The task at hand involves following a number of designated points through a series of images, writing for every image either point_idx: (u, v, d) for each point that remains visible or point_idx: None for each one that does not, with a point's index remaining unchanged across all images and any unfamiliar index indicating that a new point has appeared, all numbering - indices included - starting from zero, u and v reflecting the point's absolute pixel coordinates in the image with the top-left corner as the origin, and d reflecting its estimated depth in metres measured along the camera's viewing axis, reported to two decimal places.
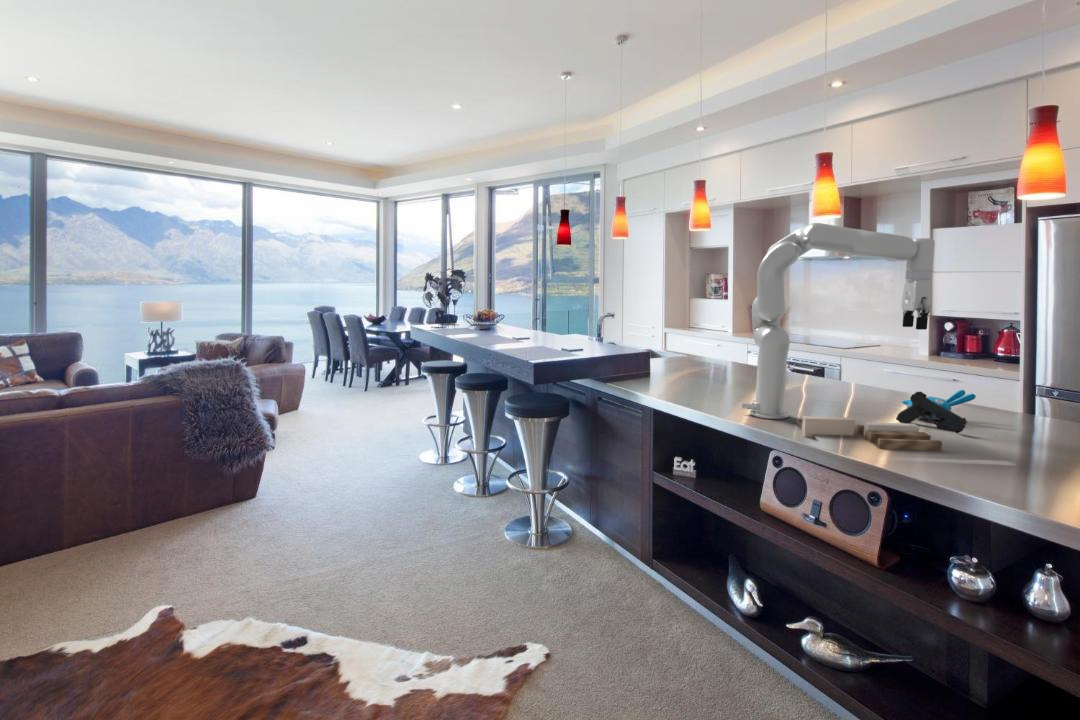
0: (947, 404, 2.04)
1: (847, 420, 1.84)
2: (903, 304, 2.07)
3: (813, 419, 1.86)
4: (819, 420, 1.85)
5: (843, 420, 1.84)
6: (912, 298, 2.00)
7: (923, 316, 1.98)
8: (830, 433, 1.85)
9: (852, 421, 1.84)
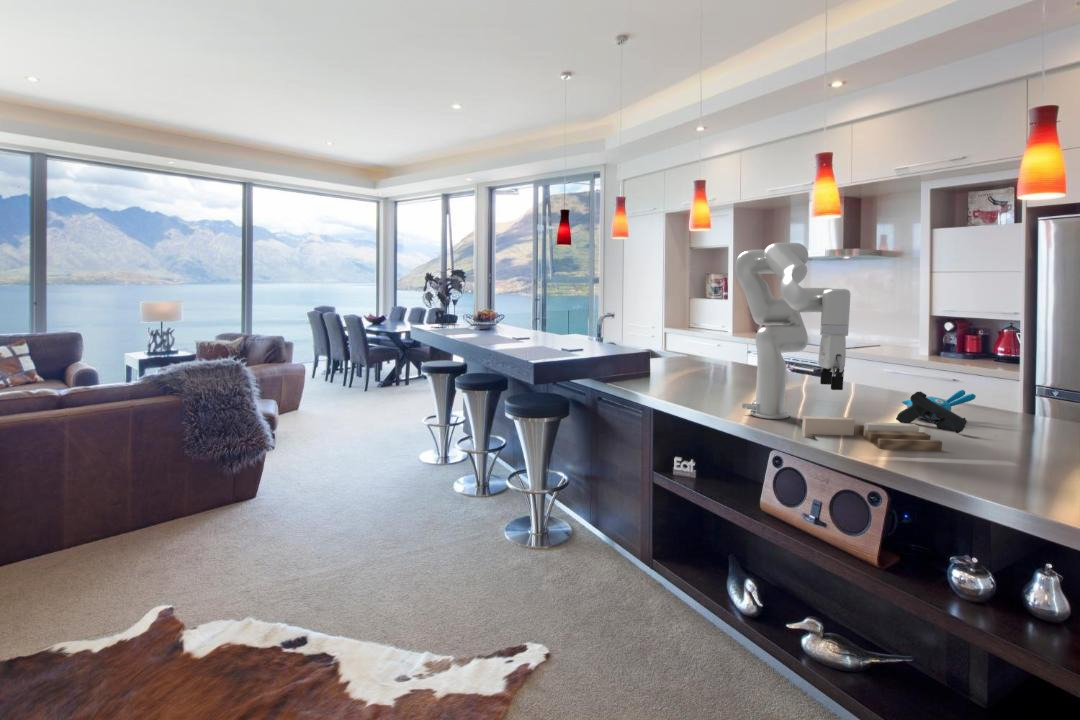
0: (947, 404, 2.04)
1: (847, 420, 1.84)
2: (819, 360, 1.87)
3: (813, 419, 1.86)
4: (819, 420, 1.85)
5: (843, 420, 1.84)
6: (826, 355, 1.81)
7: (838, 376, 1.78)
8: (830, 433, 1.85)
9: (852, 421, 1.84)
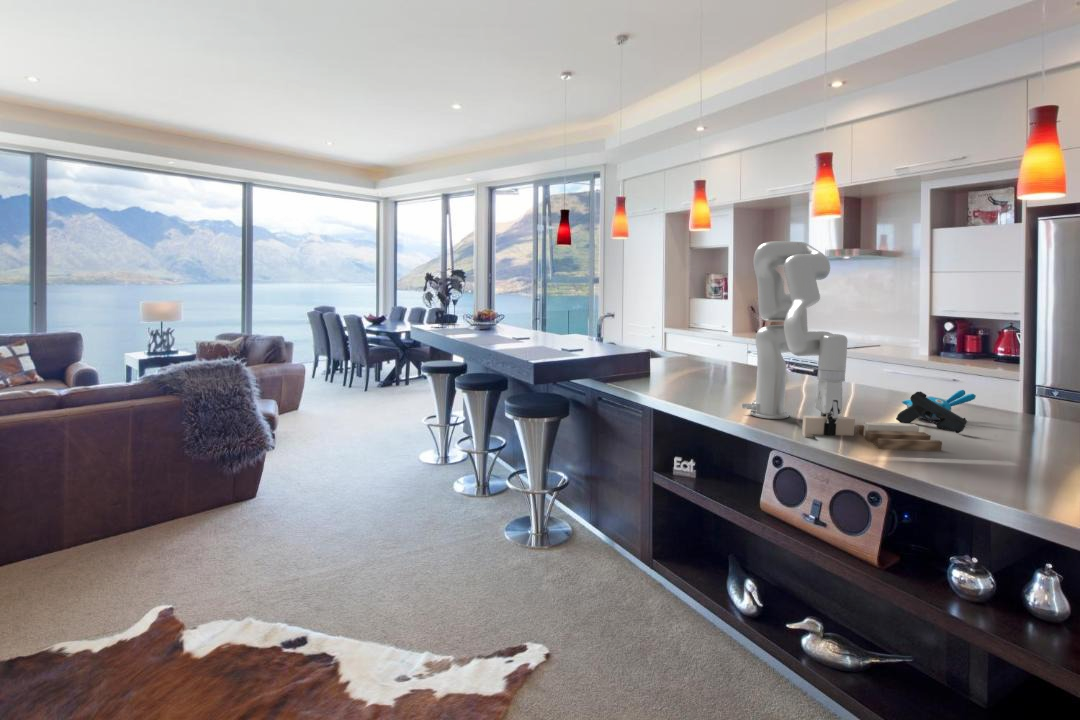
0: (947, 404, 2.04)
1: (847, 419, 1.84)
2: (816, 403, 1.89)
3: (813, 418, 1.85)
4: (819, 419, 1.85)
5: (843, 419, 1.84)
6: (823, 400, 1.83)
7: (830, 424, 1.84)
8: None
9: (852, 420, 1.84)
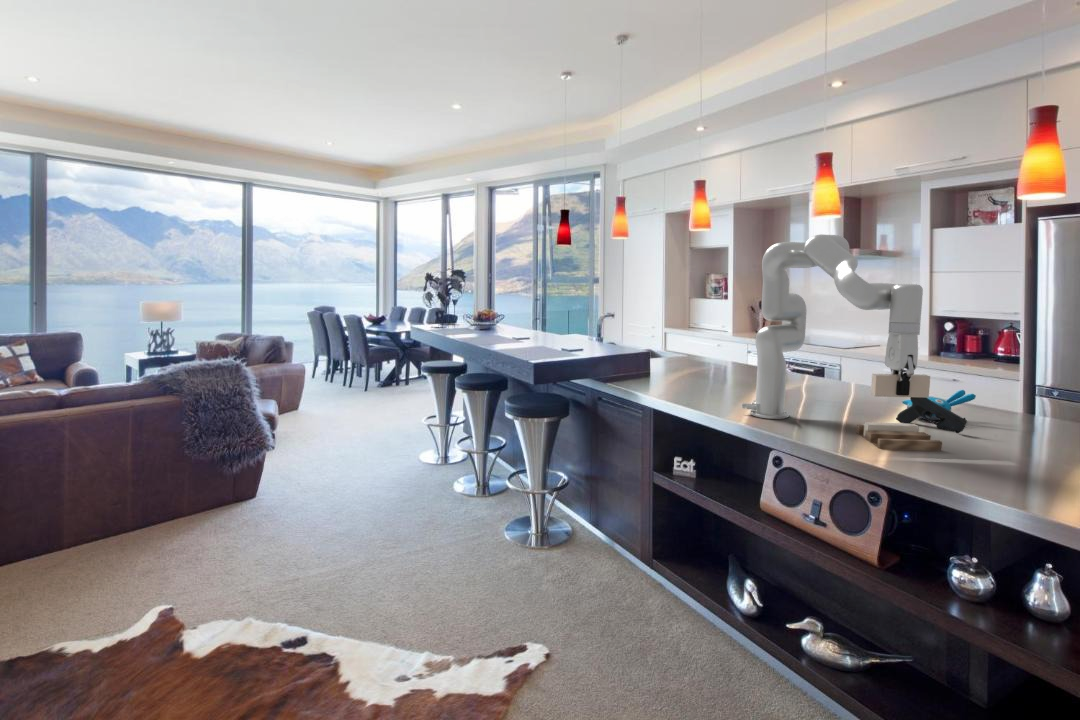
0: (947, 404, 2.04)
1: (922, 377, 1.70)
2: (887, 360, 1.75)
3: (884, 376, 1.71)
4: (891, 377, 1.71)
5: (918, 377, 1.70)
6: (896, 355, 1.68)
7: (904, 381, 1.69)
8: None
9: (928, 378, 1.70)
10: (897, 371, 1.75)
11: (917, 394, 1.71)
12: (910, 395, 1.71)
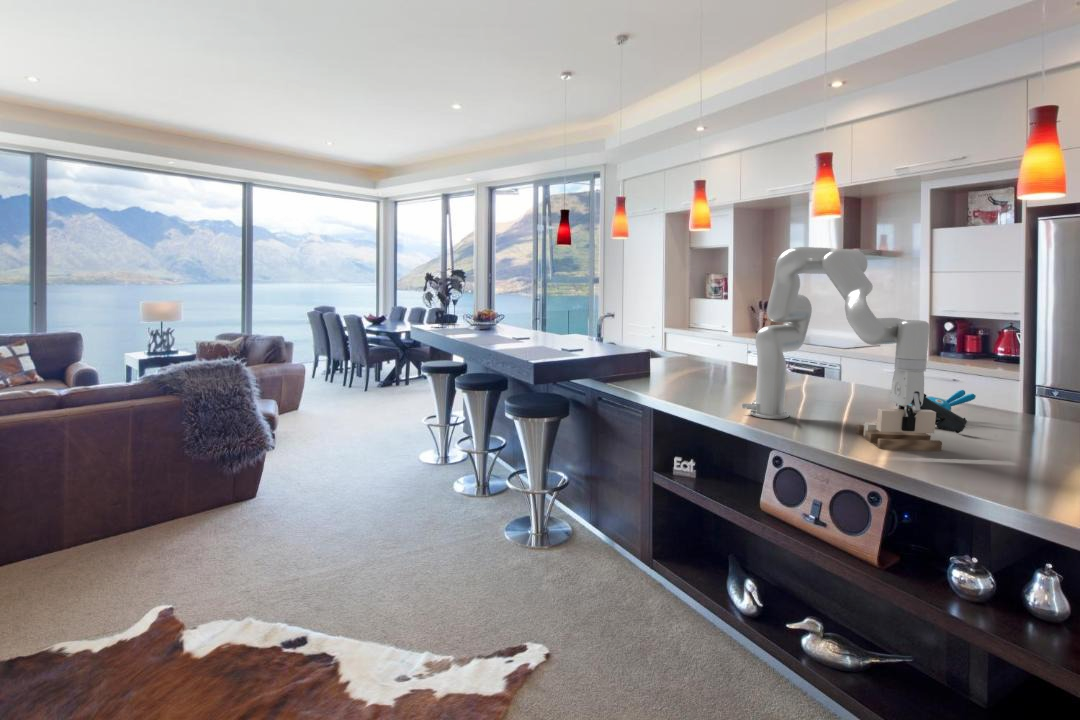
0: (947, 404, 2.04)
1: (928, 413, 1.70)
2: (892, 395, 1.75)
3: (890, 412, 1.71)
4: (897, 413, 1.71)
5: (924, 413, 1.70)
6: (902, 391, 1.68)
7: (910, 417, 1.69)
8: None
9: (933, 414, 1.70)
10: (902, 406, 1.75)
11: (922, 430, 1.71)
12: (916, 431, 1.71)
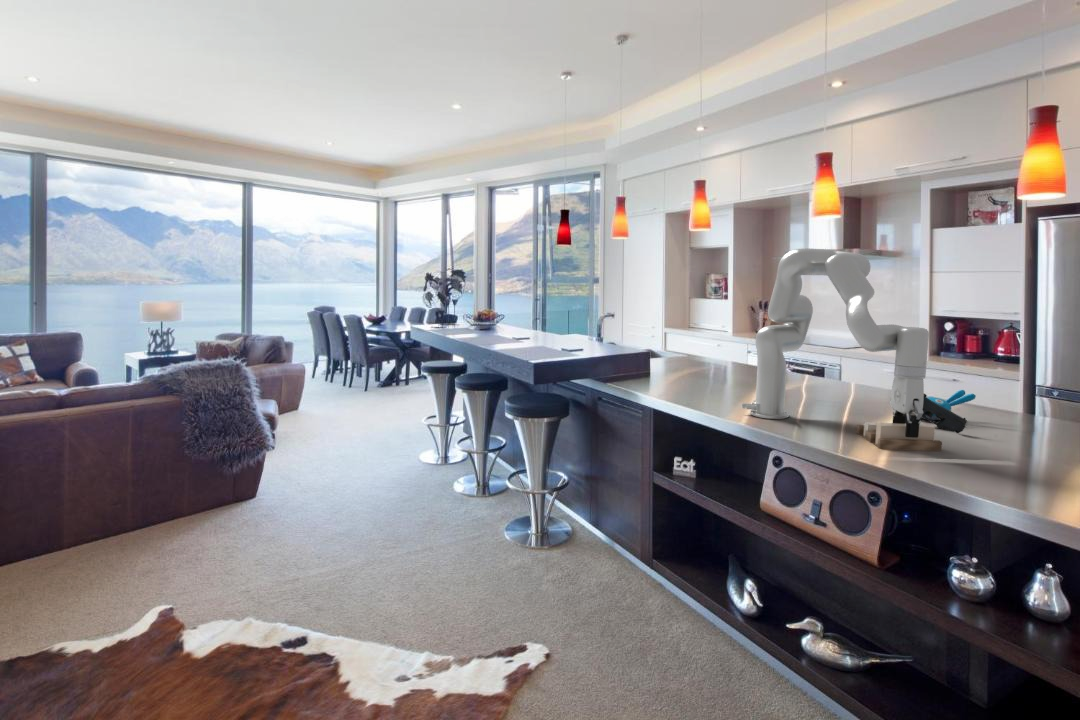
0: (947, 404, 2.04)
1: (927, 427, 1.70)
2: (892, 402, 1.75)
3: (889, 426, 1.72)
4: (896, 427, 1.72)
5: (922, 427, 1.71)
6: (902, 398, 1.69)
7: (914, 423, 1.67)
8: None
9: (932, 428, 1.70)
10: None
11: None
12: None
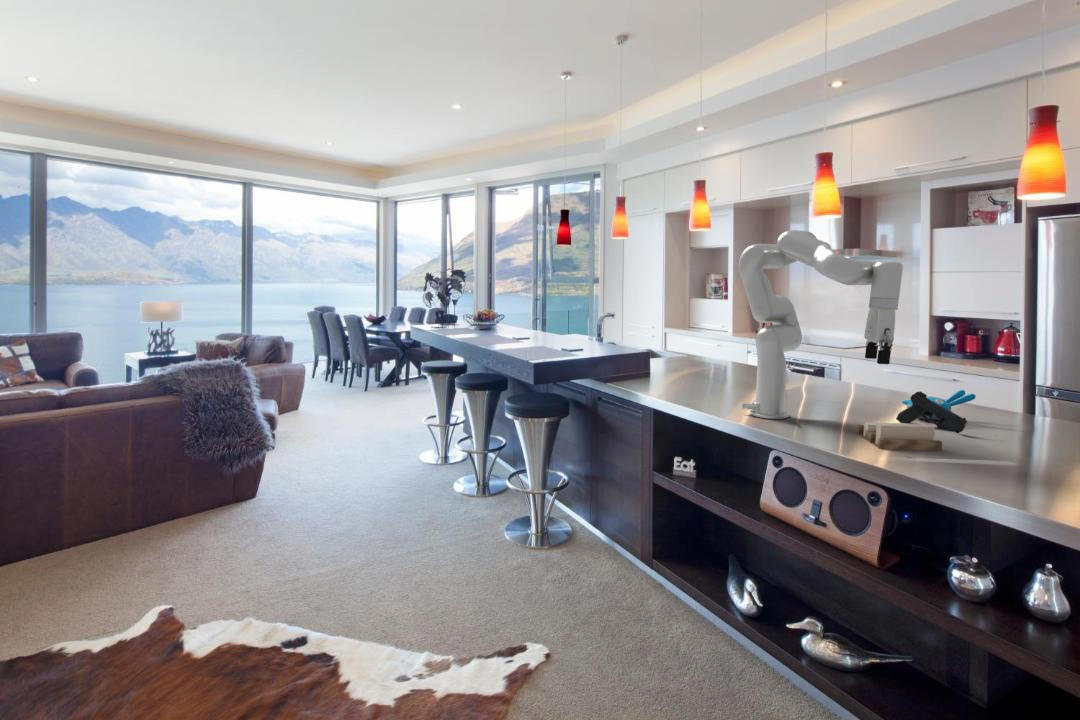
0: (947, 404, 2.04)
1: (927, 427, 1.70)
2: (866, 333, 1.85)
3: (889, 426, 1.72)
4: (896, 427, 1.72)
5: (922, 427, 1.71)
6: (875, 328, 1.79)
7: (885, 350, 1.76)
8: None
9: (932, 428, 1.70)
10: None
11: None
12: None
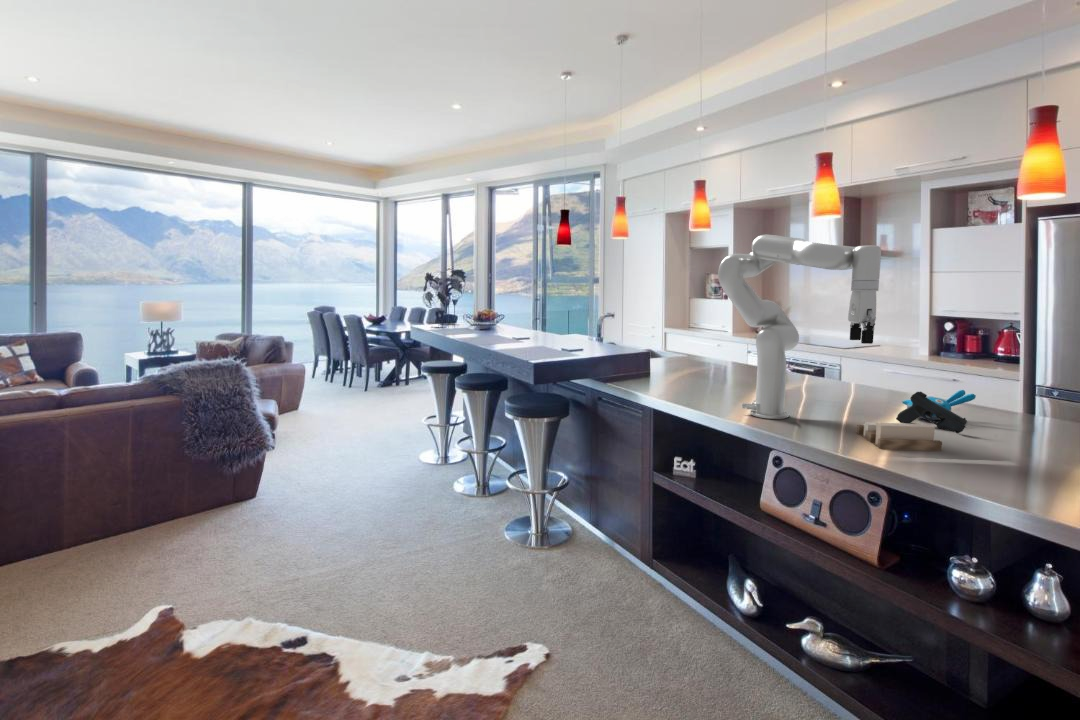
0: (947, 404, 2.04)
1: (927, 427, 1.70)
2: (849, 316, 1.93)
3: (889, 426, 1.72)
4: (896, 427, 1.72)
5: (922, 427, 1.71)
6: (857, 310, 1.86)
7: (868, 329, 1.84)
8: None
9: (932, 428, 1.70)
10: None
11: None
12: None
